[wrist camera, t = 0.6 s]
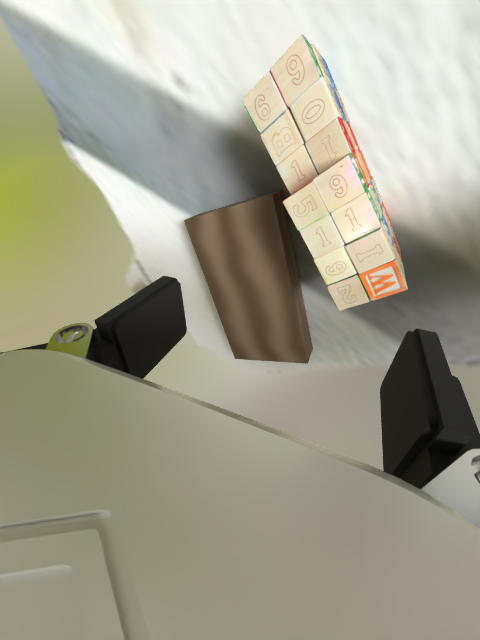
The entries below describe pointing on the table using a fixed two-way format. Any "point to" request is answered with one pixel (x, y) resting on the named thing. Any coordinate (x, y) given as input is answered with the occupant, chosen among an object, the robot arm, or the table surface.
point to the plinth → (254, 278)
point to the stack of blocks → (326, 178)
